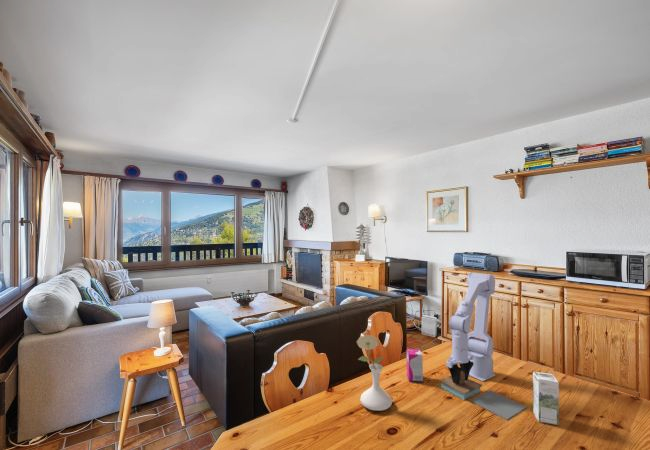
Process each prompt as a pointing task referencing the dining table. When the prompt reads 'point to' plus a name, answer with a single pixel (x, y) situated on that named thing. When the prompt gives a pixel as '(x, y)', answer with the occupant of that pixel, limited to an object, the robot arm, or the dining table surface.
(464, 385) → the lid
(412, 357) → the supplement box
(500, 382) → the dining table surface
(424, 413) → the dining table surface
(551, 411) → the syrup box
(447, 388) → the dish
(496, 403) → the mat
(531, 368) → the dining table surface
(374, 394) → the flower in vase
